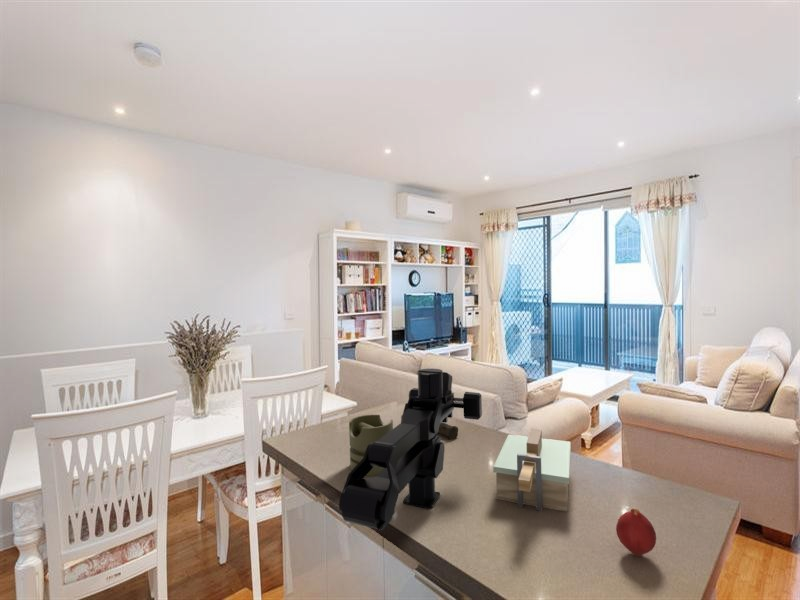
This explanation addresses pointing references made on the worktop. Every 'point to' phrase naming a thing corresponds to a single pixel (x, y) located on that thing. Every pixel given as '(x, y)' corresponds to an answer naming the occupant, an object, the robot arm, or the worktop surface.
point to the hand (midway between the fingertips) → (453, 395)
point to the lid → (549, 450)
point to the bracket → (538, 478)
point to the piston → (366, 438)
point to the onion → (636, 532)
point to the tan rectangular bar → (527, 474)
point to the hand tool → (448, 430)
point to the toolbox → (533, 492)
